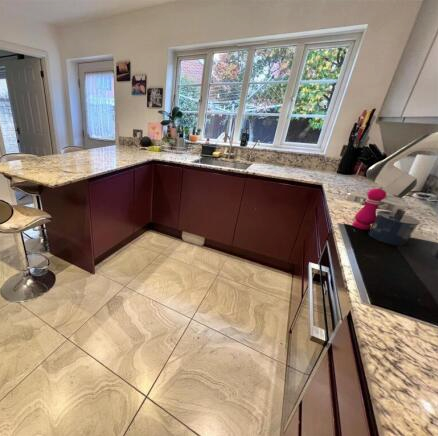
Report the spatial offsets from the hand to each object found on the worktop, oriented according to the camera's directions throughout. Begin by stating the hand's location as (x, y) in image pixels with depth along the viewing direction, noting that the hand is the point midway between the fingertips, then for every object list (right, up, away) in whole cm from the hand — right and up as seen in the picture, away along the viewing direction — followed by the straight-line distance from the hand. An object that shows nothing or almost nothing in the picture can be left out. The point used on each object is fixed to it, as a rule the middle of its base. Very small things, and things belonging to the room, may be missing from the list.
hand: (371, 205), depth 102 cm
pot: (+2, -14, -4) cm, 15 cm away
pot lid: (+3, -6, -8) cm, 10 cm away
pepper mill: (0, -10, +5) cm, 11 cm away
